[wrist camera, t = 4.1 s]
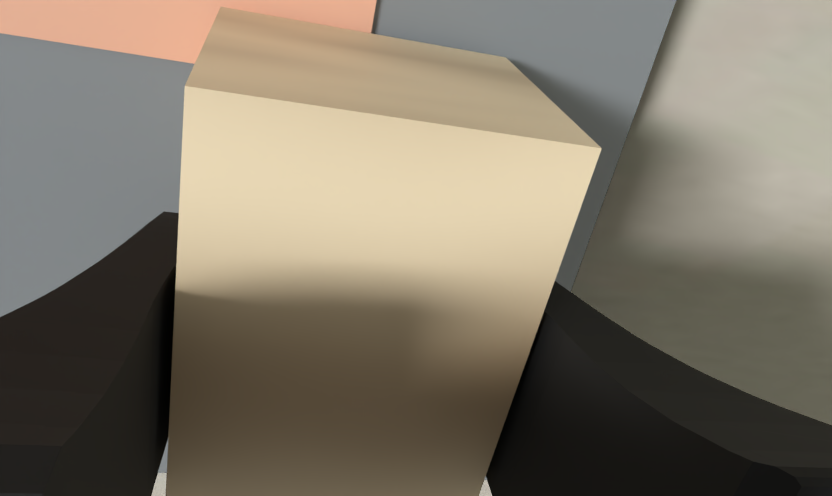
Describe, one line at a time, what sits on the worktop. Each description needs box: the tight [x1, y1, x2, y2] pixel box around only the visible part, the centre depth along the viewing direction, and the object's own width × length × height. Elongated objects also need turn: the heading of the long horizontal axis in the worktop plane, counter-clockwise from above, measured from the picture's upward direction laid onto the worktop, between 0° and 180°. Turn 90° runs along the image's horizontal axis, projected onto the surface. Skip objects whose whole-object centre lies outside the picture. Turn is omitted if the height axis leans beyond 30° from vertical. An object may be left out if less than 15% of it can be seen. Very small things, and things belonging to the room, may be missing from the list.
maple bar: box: [166, 7, 602, 496], centre depth 11 cm, size 8×4×4 cm, turn 168°
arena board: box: [0, 0, 676, 480], centre depth 9 cm, size 20×16×4 cm
